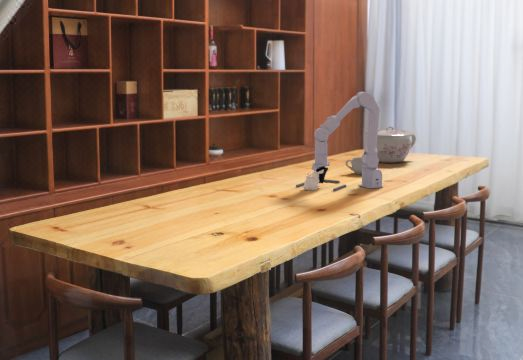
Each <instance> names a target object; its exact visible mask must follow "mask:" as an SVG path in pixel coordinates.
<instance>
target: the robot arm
mask: <svg viewBox="0 0 523 360" xmlns="http://www.w3.org/2000/svg"><path fill="white" fill-rule="evenodd" d="M361 107H362V108H364V110H365V111H366V112H367V115H368V116H367V125H366V126H367V127H366V133H367V134H366V137H365V147H364V149H363V154H362V156H361V157H362V158H361V159H362V162H363V166H362V175H361V183H359V184H357V186H358V187H363V188H365V189H378V188H384V185H383V172H382V171H381V169H379V168H378V167H379V166H378V165H379V163H380V162H379V159H378V156H377V153H378V152H377V148H376V147H377V135H378V130H379V124H380V123H379V121H380V107H379V106H378V103H377V101H376V99H375V96H373V94H371V93H370V92H366V91H359V92H357V93H356V94H355V95H353V96H352V97H351V98H350V99H349V100H348V101H347V102H346V103H345V104H344V105H343V107H342V108H341V109H340V110H339V111H338V112H337V113H336V114H335V115H330V116H328V117H327V118H326V120H325V121H324V123H322V124H320V125H319V127H318V128H316V130H315V131H314V133H313V136H314V162H312V165H311V170H313V172H314V171H315V169H316V172H319V171H321V170H324V172H323V173H322V174H319V184H324V183H325V182H324V179H325V177H326V175H327V172H328V170H329V168H328V167H330V164H331V162H330V161H328V139H329V138H330V137H329V135H331V134H332V133H333V132H334V131H335V130H336V129H337V128H338V127H339V126H340V125H341V121H342V119H344V118H345V117H346V116H347V115H348V114H349V113H351V111H352V110H353V109H358V108H361Z"/></svg>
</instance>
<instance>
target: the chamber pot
mask: <svg viewBox="0 0 523 360" xmlns="http://www.w3.org/2000/svg"><path fill="white" fill-rule="evenodd" d="M365 134H366V135H367V132H366V133H365ZM410 137H411V140H410ZM416 141H417V140H416V135H415V134H414V133H413V132H411V131H407V130H401V129H394V127H393V126H391V125H390V126H387V127H386V128H385V129H378V135H377V147H376V148H377V152H378V153H377V156H378V159H379V163H382V164H398V163H401V162H404V161H405V159H407V158H408V156H409V154H410V151H411V149H412V148H413V147H414V145H415V144H416Z"/></svg>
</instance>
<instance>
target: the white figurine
mask: <svg viewBox="0 0 523 360" xmlns="http://www.w3.org/2000/svg"><path fill="white" fill-rule="evenodd" d="M323 172H324V170H321V171H319V172H316V169H315V171H314V170H313V172H312V173H309V172H308V173H307V176H306V178H305V180H304V182H303V183H304V186H303V189H304V190H305V191H316V190H319V189H318V187H319V186H318V185H319V184H320V183H319V174H322V173H323Z"/></svg>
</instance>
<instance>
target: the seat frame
mask: <svg viewBox="0 0 523 360" xmlns="http://www.w3.org/2000/svg"><path fill="white" fill-rule="evenodd" d="M323 183H334V184H340V183H341V181H340V180H338V179H337V180H336V179H325V178H324V182H323ZM300 187H304V182H302V183H301V182H300V183H299V184H296V185H295V188H300ZM344 188H347V184H341V185H339V186H337V187H334V188H333V189H332V191H333V192H337V191H340V190H342V189H344Z"/></svg>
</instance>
